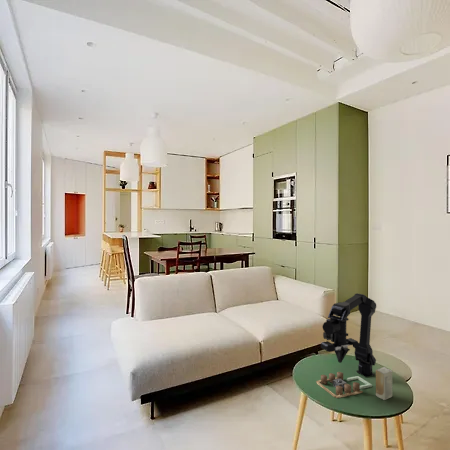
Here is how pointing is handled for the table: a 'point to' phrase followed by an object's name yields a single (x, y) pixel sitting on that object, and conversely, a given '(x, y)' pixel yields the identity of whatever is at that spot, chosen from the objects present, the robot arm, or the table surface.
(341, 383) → the grey knob block
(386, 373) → the skincare box
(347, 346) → the robot arm
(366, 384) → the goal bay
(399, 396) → the table surface
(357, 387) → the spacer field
